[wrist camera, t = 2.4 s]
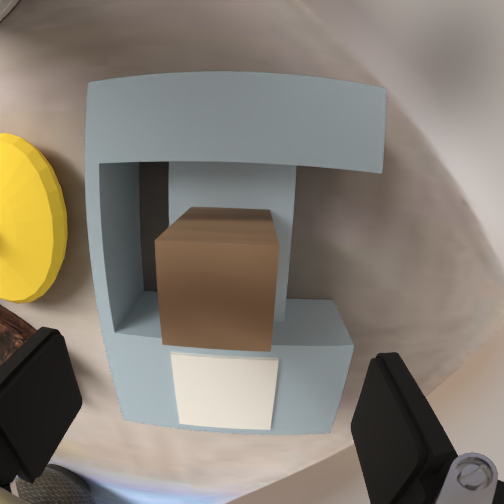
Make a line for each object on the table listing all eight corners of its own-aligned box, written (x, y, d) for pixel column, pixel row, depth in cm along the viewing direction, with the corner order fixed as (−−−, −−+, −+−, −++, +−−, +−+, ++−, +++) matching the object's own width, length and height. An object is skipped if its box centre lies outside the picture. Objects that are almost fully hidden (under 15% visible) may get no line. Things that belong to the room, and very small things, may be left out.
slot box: (129, 97, 22) (85, 81, 15) (351, 103, 22) (388, 87, 15) (145, 371, 29) (122, 422, 22) (317, 380, 29) (330, 435, 22)
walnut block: (191, 206, 20) (154, 240, 13) (270, 209, 20) (279, 245, 13) (191, 279, 22) (162, 344, 14) (265, 283, 22) (270, 351, 14)
